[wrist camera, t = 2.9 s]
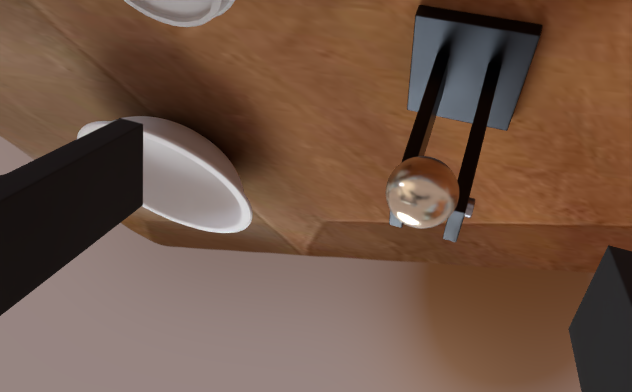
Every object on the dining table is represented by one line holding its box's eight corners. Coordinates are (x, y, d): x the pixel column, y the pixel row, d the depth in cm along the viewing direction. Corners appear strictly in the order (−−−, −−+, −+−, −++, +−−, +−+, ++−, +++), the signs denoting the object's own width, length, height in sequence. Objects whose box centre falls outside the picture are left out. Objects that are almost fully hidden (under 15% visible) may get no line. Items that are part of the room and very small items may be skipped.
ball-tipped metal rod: (392, 145, 26) (373, 218, 26) (468, 162, 25) (448, 238, 25) (413, 169, 41) (401, 215, 41) (462, 180, 40) (449, 228, 40)
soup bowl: (85, 53, 63) (53, 95, 60) (279, 129, 62) (257, 176, 59) (119, 156, 84) (97, 191, 81) (264, 213, 84) (247, 250, 81)
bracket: (419, 4, 41) (361, 160, 34) (542, 24, 39) (507, 194, 32) (410, 100, 51) (363, 237, 44) (509, 120, 48) (476, 268, 42)
